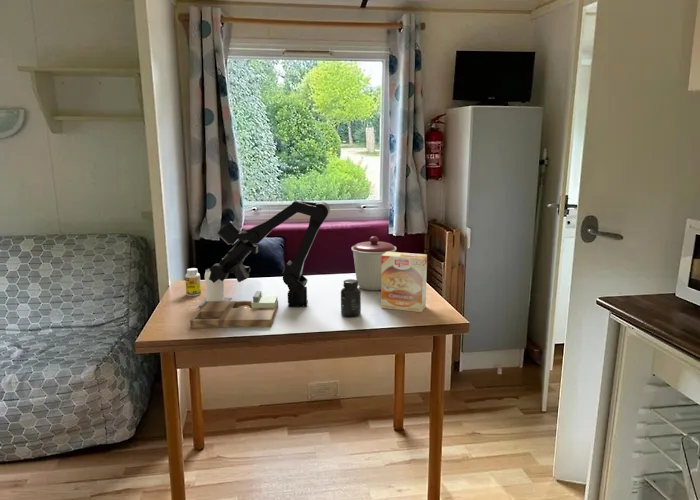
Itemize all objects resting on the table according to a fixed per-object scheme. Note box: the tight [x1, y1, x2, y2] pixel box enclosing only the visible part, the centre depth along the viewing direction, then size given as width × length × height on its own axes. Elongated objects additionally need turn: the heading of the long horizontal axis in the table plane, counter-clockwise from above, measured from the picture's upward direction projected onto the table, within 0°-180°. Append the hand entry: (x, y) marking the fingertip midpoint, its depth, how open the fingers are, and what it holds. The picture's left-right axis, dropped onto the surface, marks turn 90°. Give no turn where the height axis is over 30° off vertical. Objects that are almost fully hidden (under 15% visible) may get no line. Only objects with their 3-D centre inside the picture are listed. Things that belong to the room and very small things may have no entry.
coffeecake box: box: [380, 251, 428, 313], centre depth 186 cm, size 15×7×20 cm, turn 70°
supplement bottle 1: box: [184, 267, 202, 297], centre depth 204 cm, size 6×6×10 cm
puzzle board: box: [189, 300, 279, 329], centre depth 179 cm, size 26×20×2 cm
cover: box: [251, 290, 279, 308], centre depth 184 cm, size 8×8×4 cm
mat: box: [198, 297, 233, 308], centre depth 195 cm, size 10×10×1 cm
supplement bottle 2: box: [340, 278, 362, 318], centre depth 180 cm, size 7×7×12 cm
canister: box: [350, 236, 398, 291], centre depth 211 cm, size 18×18×21 cm
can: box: [204, 268, 225, 301], centre depth 193 cm, size 6×6×12 cm
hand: (211, 282), depth 193 cm, fingers closed on can, 5 cm apart
